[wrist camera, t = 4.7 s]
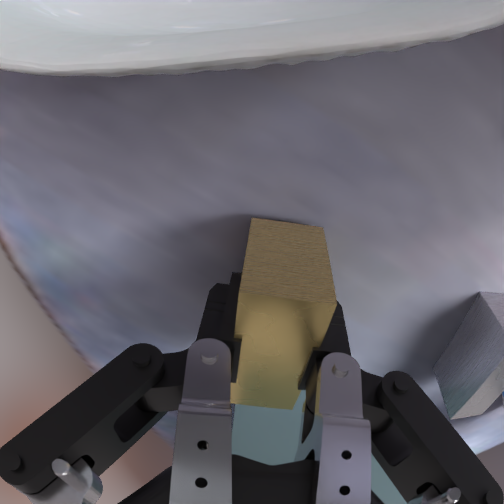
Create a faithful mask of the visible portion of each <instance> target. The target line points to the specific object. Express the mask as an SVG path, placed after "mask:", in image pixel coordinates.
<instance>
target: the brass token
mask: <svg viewBox="0 0 504 504" xmlns="http://www.w3.org/2000/svg"><path fill="white" fill-rule="evenodd" d="M336 306H337V301H336V295H335V289H334V283H333V277H332V272H331V266H330V261H329V255H328V250H327V245H326V240H325V235H324V230H323V228H322V227H316V226H309V225H302V224H295V223H288V222H281V221H274V220H267V219H260V218H252V220H251V225H250V231H249V237H248V242H247V248H246V254H245V260H244V266H243V271H242V277H241V283H240V289H239V296H238V305H237V314H236V324H235V333H234V338H240V339H242V343H241V350H240V358H239V365H238V373H237V380H236V383H231V395H230V403H233V404H240V405H248V406H257V407H266V408H277V409H288V410H293V407H294V405H295V403H296V401H297V399H298V397H299V394H300V392H301V390H298V383H299V380H300V378H301V375H302V373H303V370H304V368H305V366H306V363H307V361H308V358H309V356H310V353H311V350H312V348H313V347H320V346H321V344H322V341H323V339H324V336H325V334H326V332H327V329H328V327H329V324H330V321H331V319H332V316H333V314H334V311H335V309H336Z"/></svg>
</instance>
